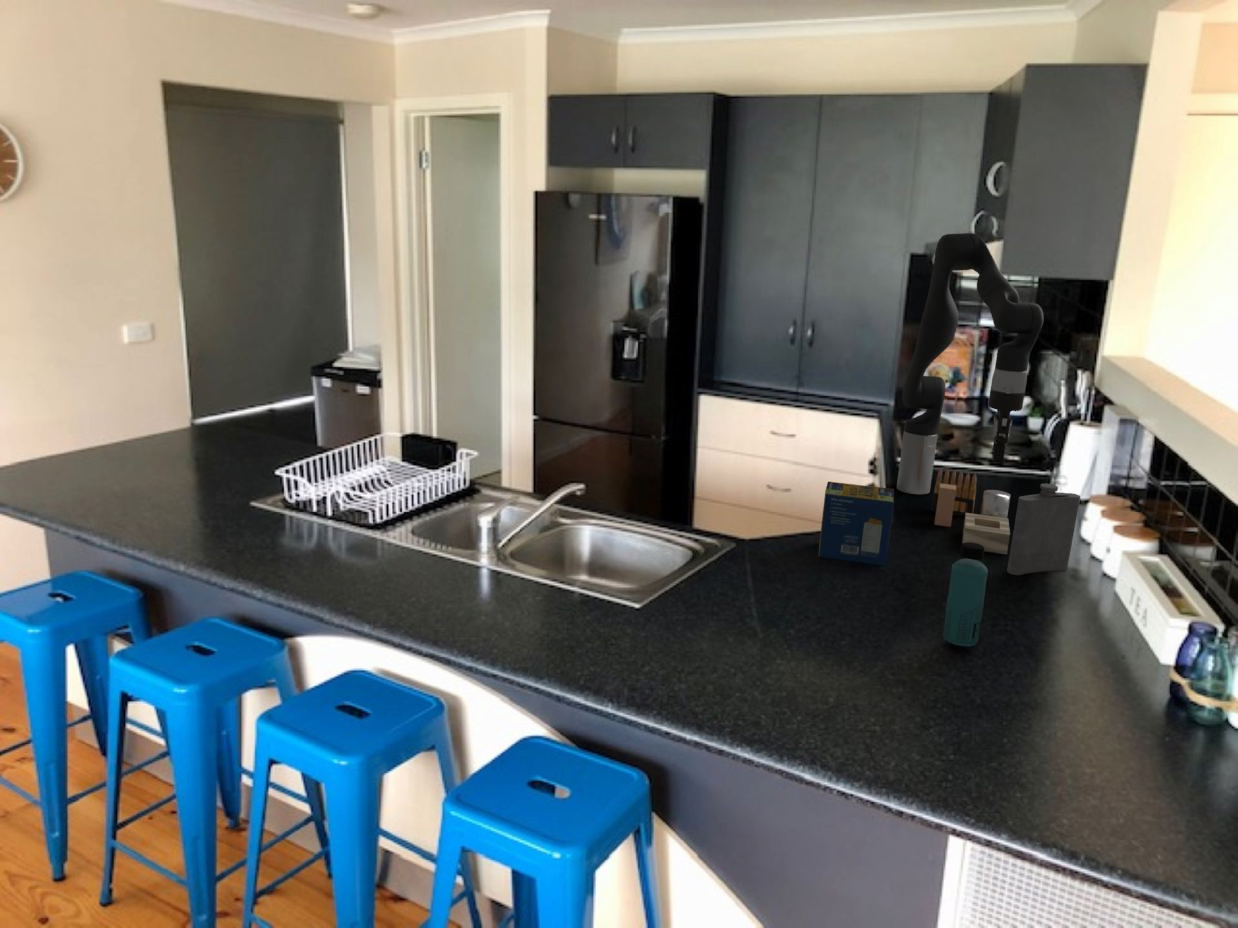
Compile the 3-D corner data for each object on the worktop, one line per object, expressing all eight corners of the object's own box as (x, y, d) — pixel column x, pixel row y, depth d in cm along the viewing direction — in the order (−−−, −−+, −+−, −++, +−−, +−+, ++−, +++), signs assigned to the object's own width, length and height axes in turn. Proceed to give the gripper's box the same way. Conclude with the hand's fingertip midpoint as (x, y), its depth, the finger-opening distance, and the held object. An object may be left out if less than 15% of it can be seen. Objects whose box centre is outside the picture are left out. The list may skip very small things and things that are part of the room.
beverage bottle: (973, 657, 172) (989, 553, 167) (935, 647, 176) (950, 545, 170) (981, 644, 178) (996, 543, 172) (944, 635, 181) (959, 535, 176)
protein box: (820, 542, 228) (827, 480, 224) (887, 551, 225) (895, 488, 220) (817, 557, 219) (824, 492, 215) (886, 566, 215) (894, 501, 211)
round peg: (978, 521, 249) (983, 488, 247) (1004, 525, 247) (1010, 492, 245) (978, 528, 244) (983, 495, 241) (1005, 532, 242) (1010, 498, 239)
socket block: (962, 531, 241) (965, 512, 240) (1005, 537, 238) (1008, 518, 236) (962, 547, 229) (965, 528, 228) (1006, 554, 226) (1010, 534, 225)
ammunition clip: (973, 516, 253) (979, 473, 250) (972, 518, 252) (978, 474, 249) (931, 509, 258) (937, 466, 255) (930, 510, 257) (936, 468, 253)
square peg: (935, 520, 249) (940, 483, 246) (951, 522, 248) (956, 485, 245) (934, 524, 245) (939, 487, 243) (950, 526, 244) (956, 489, 241)
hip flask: (1013, 575, 213) (1027, 490, 207) (1001, 569, 216) (1014, 484, 211) (1070, 569, 218) (1085, 486, 213) (1057, 563, 222) (1071, 481, 216)
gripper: (990, 382, 231) (980, 447, 235) (991, 392, 218) (981, 460, 222) (1023, 385, 228) (1013, 450, 233) (1026, 395, 215) (1015, 464, 220)
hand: (997, 455), depth 227 cm, fingers open, 8 cm apart
